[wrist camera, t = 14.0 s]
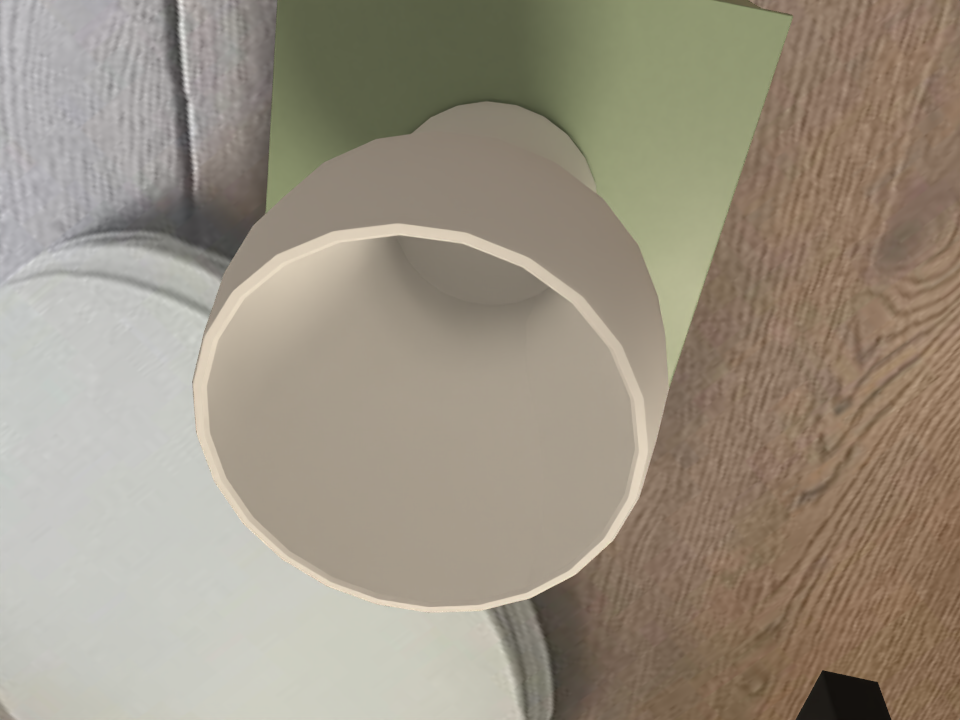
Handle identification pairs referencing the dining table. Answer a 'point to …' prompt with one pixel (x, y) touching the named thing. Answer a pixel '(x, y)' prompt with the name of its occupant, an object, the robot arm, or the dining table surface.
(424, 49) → the green flat-topped block
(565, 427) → the cup
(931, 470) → the dining table surface
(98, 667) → the dining table surface
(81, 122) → the dining table surface
